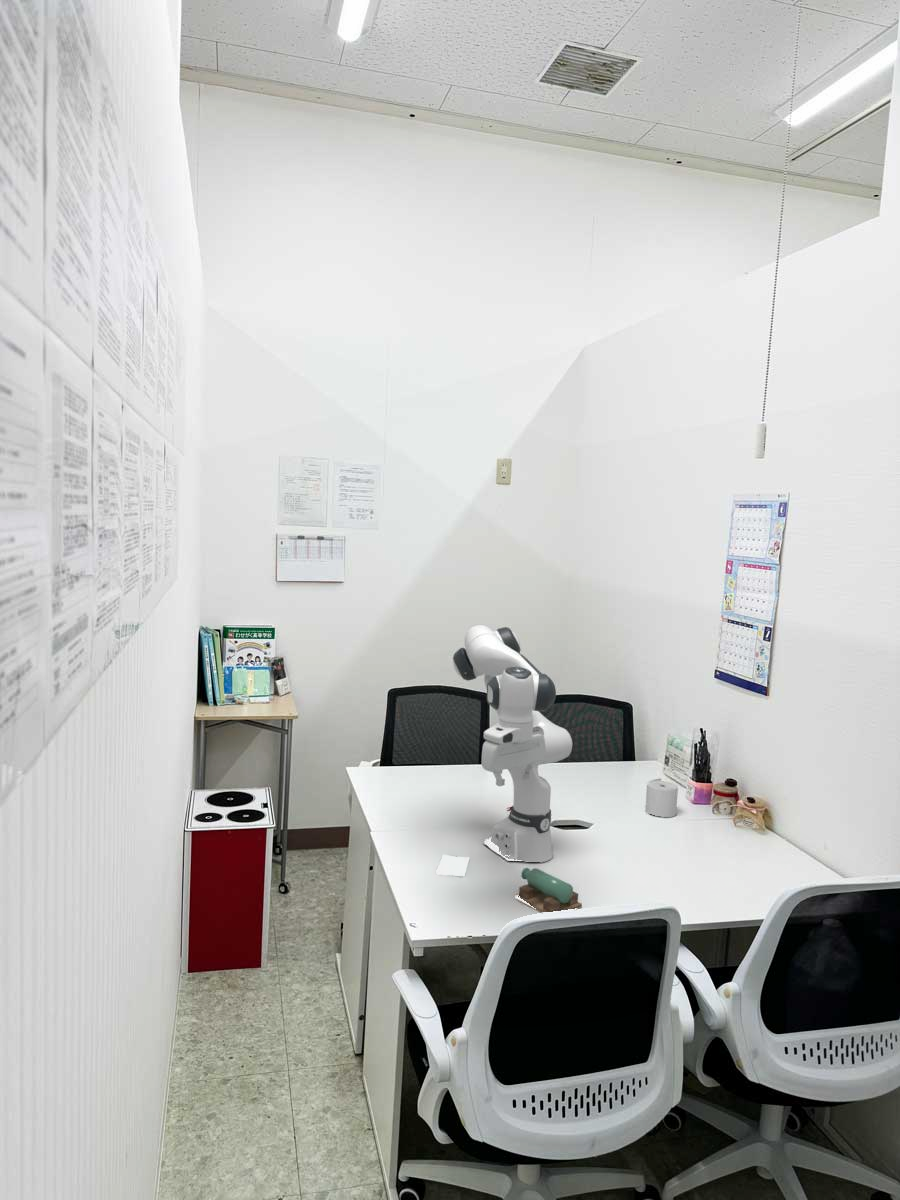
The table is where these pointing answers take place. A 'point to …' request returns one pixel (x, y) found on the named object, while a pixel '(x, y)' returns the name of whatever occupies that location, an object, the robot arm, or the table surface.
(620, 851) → the table surface
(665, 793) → the toilet tissue
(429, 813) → the table surface
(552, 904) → the cradle
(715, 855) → the table surface
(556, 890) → the bottle
